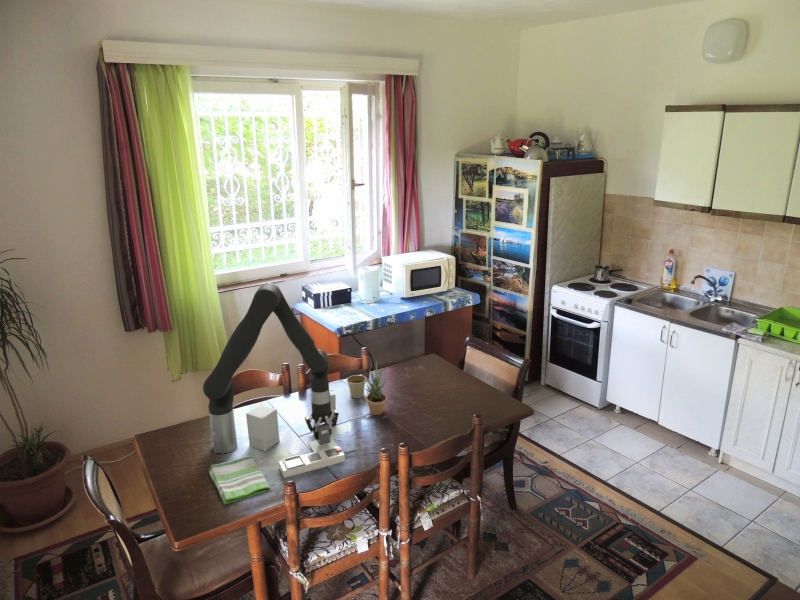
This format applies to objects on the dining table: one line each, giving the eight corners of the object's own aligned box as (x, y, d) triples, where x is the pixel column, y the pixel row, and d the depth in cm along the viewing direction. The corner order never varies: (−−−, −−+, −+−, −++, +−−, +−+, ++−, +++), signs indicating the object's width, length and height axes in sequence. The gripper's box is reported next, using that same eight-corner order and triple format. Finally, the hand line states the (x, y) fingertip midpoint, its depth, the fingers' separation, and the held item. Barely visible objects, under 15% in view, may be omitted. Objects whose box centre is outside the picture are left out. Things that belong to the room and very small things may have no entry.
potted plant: (390, 414, 254) (389, 364, 247) (370, 418, 251) (368, 367, 244) (382, 404, 263) (381, 355, 256) (363, 408, 260) (361, 359, 252)
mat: (315, 455, 223) (315, 454, 223) (308, 443, 232) (308, 442, 232) (339, 449, 227) (339, 447, 227) (331, 437, 236) (331, 436, 236)
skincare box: (318, 428, 243) (316, 397, 239) (315, 421, 249) (313, 391, 244) (337, 425, 246) (335, 394, 241) (334, 418, 251) (333, 388, 247)
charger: (319, 445, 226) (318, 427, 223) (316, 440, 230) (315, 422, 227) (330, 442, 228) (329, 425, 225) (326, 437, 232) (325, 419, 229)
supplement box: (280, 441, 234) (277, 409, 229) (265, 452, 226) (262, 418, 222) (264, 435, 238) (261, 403, 234) (248, 446, 231) (245, 413, 226)
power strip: (284, 477, 209) (283, 469, 208) (279, 468, 215) (278, 459, 214) (359, 457, 222) (358, 448, 220) (352, 448, 228) (352, 440, 227)
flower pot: (344, 393, 275) (343, 377, 272) (362, 389, 278) (362, 373, 276) (351, 401, 267) (350, 384, 264) (369, 397, 270) (369, 381, 268)
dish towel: (252, 459, 222) (252, 452, 221) (272, 490, 203) (271, 482, 202) (208, 473, 214) (207, 465, 213) (224, 506, 195) (222, 498, 194)
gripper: (305, 407, 217) (308, 446, 222) (341, 399, 223) (343, 437, 228) (300, 399, 224) (303, 437, 229) (334, 391, 229) (336, 429, 234)
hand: (323, 437), depth 228 cm, fingers closed on charger, 4 cm apart
